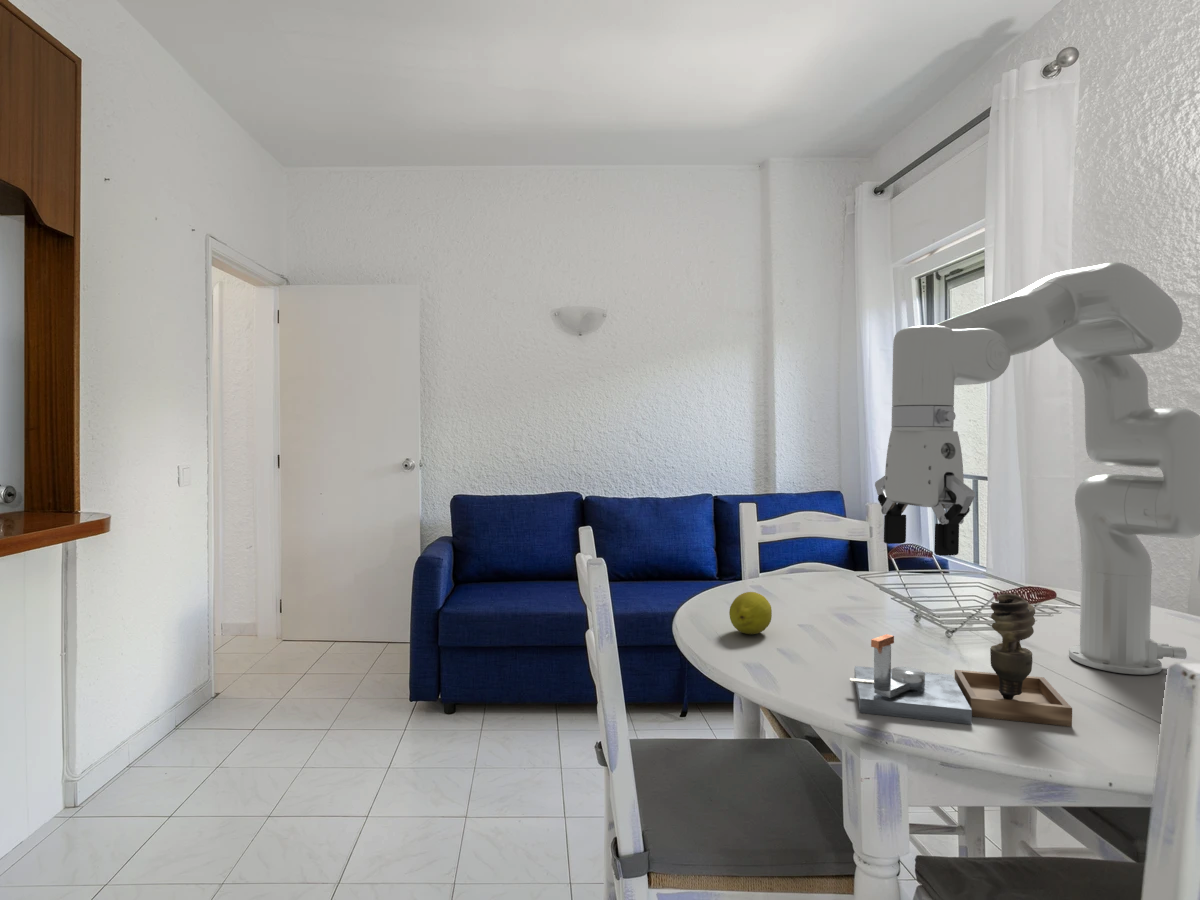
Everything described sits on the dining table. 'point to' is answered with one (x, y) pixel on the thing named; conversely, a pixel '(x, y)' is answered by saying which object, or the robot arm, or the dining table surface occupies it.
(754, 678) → the dining table surface
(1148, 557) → the robot arm
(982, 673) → the tray
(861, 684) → the crank base
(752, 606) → the lemon
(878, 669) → the crank
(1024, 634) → the light bulb
